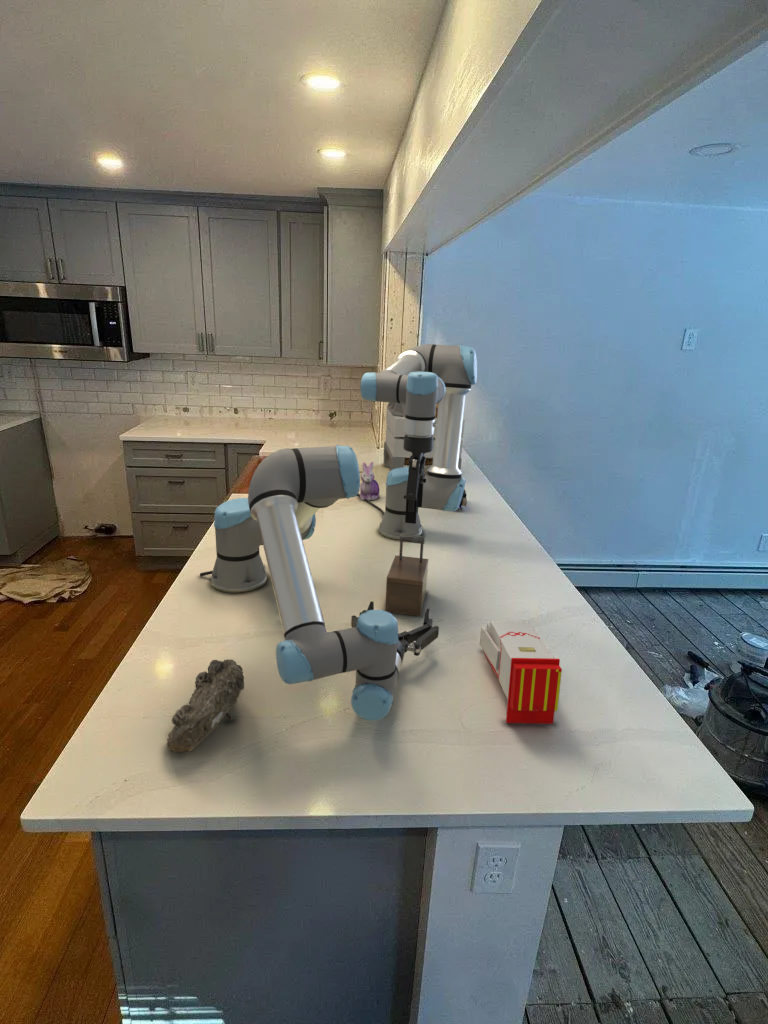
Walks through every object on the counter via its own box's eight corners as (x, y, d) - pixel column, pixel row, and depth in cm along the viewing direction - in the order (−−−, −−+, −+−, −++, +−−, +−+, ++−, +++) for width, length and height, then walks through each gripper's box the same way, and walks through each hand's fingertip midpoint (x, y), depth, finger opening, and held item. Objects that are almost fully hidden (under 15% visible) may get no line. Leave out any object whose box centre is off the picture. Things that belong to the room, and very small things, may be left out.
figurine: (364, 502, 230) (365, 466, 225) (353, 495, 238) (354, 460, 233) (384, 500, 234) (386, 464, 229) (373, 492, 242) (375, 458, 237)
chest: (393, 587, 161) (394, 560, 158) (425, 591, 160) (428, 563, 157) (385, 611, 148) (386, 582, 145) (420, 616, 147) (422, 586, 144)
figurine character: (467, 515, 225) (461, 499, 238) (469, 498, 221) (463, 482, 235) (450, 514, 224) (445, 498, 238) (452, 497, 221) (447, 482, 234)
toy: (526, 605, 135) (570, 665, 105) (521, 658, 137) (563, 730, 108) (475, 604, 134) (506, 664, 105) (472, 657, 137) (500, 729, 108)
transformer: (382, 463, 289) (386, 382, 275) (445, 464, 293) (451, 384, 279) (390, 482, 257) (394, 392, 243) (460, 483, 261) (468, 394, 247)
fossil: (192, 660, 117) (244, 628, 112) (224, 691, 120) (276, 661, 115) (142, 746, 98) (202, 712, 93) (182, 779, 101) (242, 748, 96)
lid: (395, 559, 159) (396, 530, 156) (428, 563, 157) (430, 533, 154) (386, 581, 145) (388, 550, 142) (422, 586, 144) (424, 554, 141)
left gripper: (325, 666, 120) (349, 616, 140) (442, 683, 117) (449, 630, 136) (326, 636, 118) (349, 589, 138) (445, 652, 114) (452, 602, 134)
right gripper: (428, 447, 131) (422, 532, 138) (437, 426, 154) (432, 500, 161) (396, 444, 132) (392, 529, 139) (410, 424, 155) (406, 498, 163)
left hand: (399, 609), depth 137 cm, fingers open, 13 cm apart
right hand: (413, 514), depth 150 cm, fingers open, 13 cm apart
